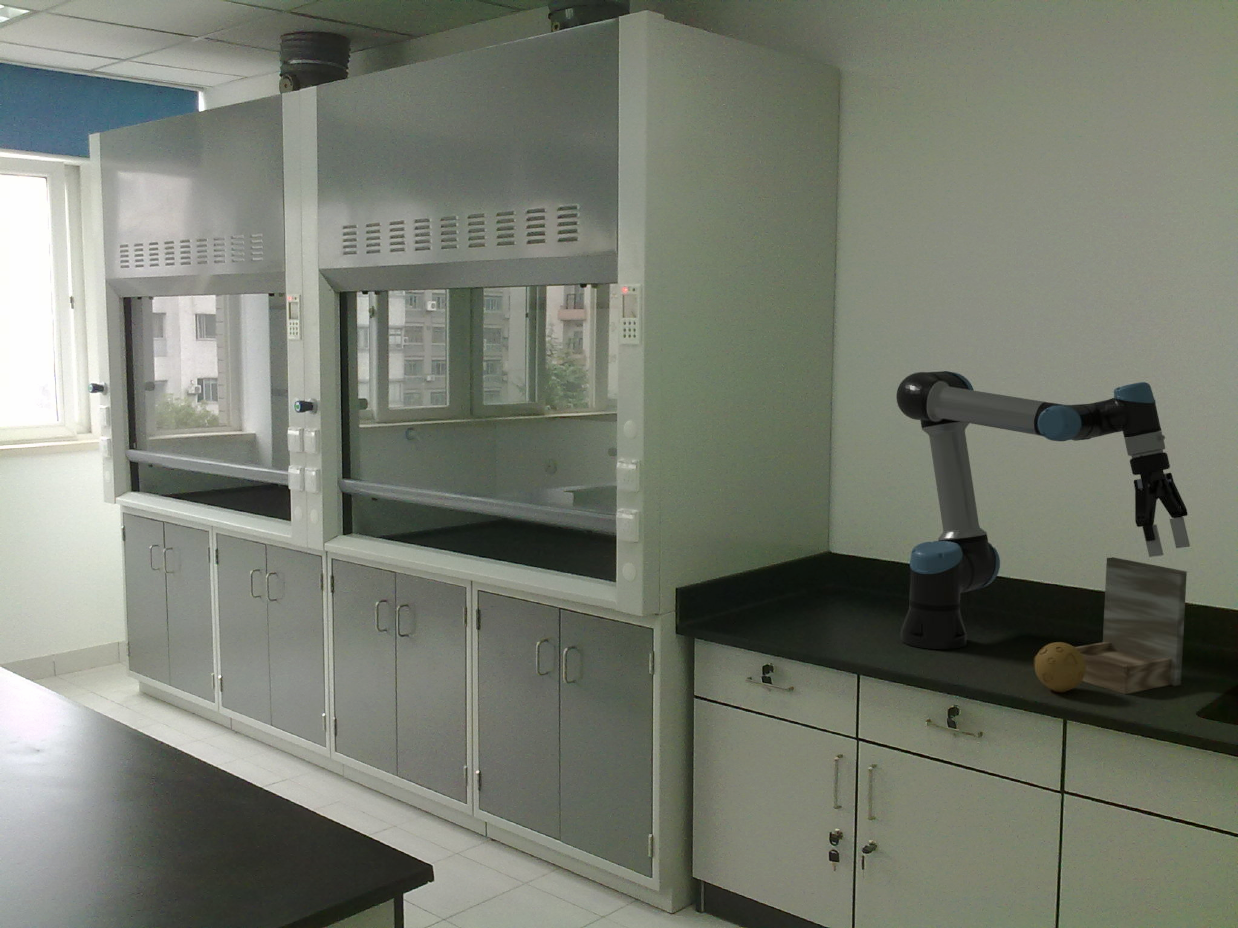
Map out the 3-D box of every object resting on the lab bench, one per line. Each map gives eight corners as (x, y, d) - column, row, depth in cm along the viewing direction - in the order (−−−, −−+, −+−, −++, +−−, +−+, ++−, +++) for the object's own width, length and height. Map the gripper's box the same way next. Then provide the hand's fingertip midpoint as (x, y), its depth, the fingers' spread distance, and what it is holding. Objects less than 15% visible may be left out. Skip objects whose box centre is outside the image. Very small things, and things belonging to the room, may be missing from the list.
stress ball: (1059, 687, 243) (1022, 655, 243) (1094, 656, 239) (1056, 624, 240) (1062, 708, 234) (1024, 676, 234) (1099, 677, 230) (1060, 644, 230)
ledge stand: (1129, 695, 234) (1134, 578, 232) (1057, 673, 250) (1062, 563, 247) (1180, 684, 242) (1186, 571, 239) (1107, 663, 257) (1112, 557, 255)
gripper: (1139, 455, 238) (1162, 557, 236) (1188, 446, 255) (1211, 541, 253) (1104, 462, 243) (1126, 562, 242) (1155, 453, 260) (1176, 546, 258)
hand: (1170, 551), depth 247 cm, fingers open, 13 cm apart
